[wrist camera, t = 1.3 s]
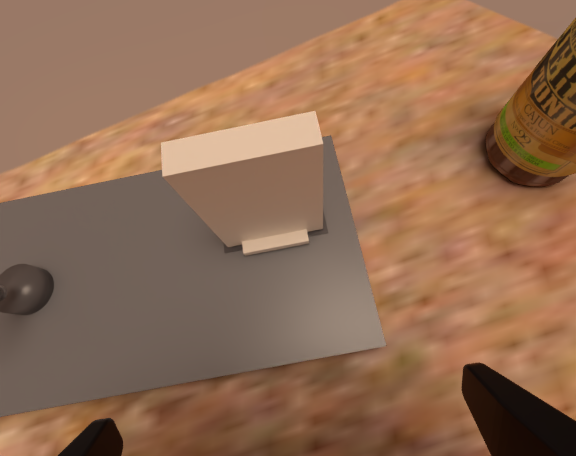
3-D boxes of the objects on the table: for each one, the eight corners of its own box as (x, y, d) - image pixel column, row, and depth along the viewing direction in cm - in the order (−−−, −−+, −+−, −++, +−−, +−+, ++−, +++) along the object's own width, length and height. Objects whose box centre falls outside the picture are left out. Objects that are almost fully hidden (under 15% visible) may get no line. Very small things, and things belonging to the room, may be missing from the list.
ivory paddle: (325, 240, 20) (327, 161, 12) (229, 258, 20) (163, 194, 12) (315, 196, 21) (311, 95, 13) (224, 214, 21) (160, 126, 13)
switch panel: (378, 346, 20) (390, 345, 17) (-23, 420, 21) (-91, 434, 18) (330, 155, 25) (331, 124, 22) (6, 220, 26) (-42, 201, 23)
